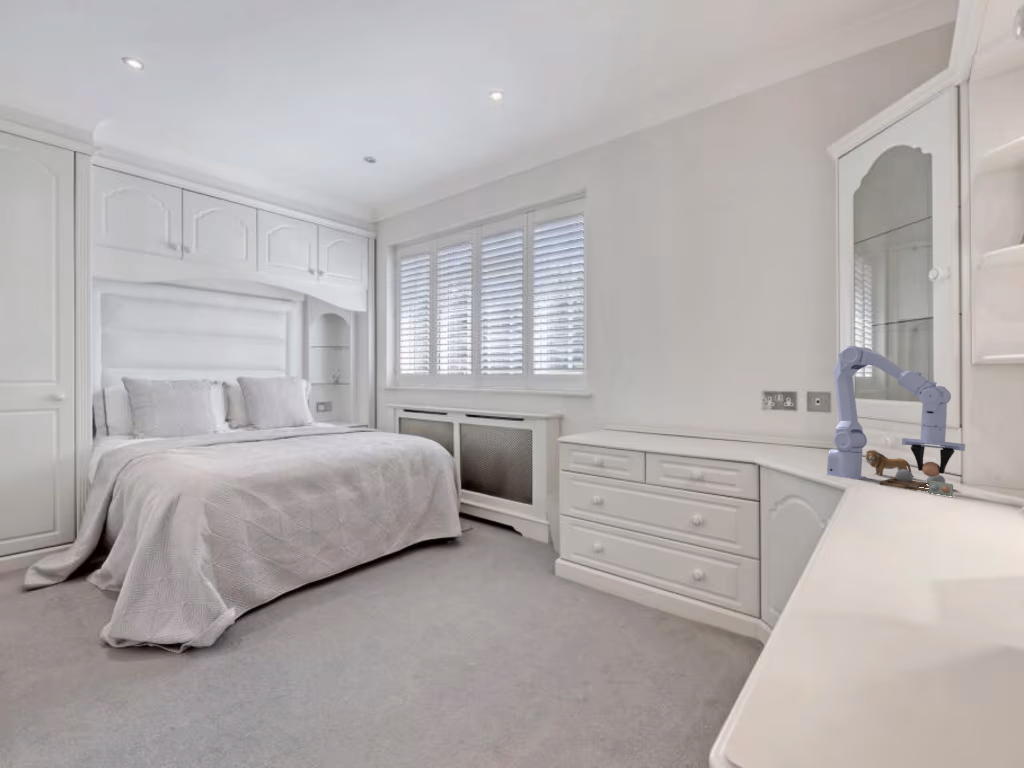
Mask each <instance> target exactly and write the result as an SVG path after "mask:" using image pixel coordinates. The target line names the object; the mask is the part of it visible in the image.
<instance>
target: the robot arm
mask: <svg viewBox="0 0 1024 768" xmlns="http://www.w3.org/2000/svg"><path fill="white" fill-rule="evenodd" d="M837 357H838V359H837V361H836V363H835V367H834V369H833V371H832V373H833V381H834V390H835V399H836V409H837V416H838V424H837V425H836V427H835V428H834V430H835V434H834V435H833V444H834V446H835V447H836V449H835V448H831V449H829V451H828V454H827V465H826V467H827V468H826V473H825V475H827V476H832V477H839V478H846V479H852V480H862V479H865V478H866V475H862V468H863V466H862V465H863V448H865V446H867V443H868V438H867V436H866V434H865V433H864V430H863V426H862V425H861V424H860V423H859V420H858V419H859V418H858V411H857V404H856V403H857V402H856V401H857V400H856V395H855V387H854V386H855V385H854V379H853V376H854V375H855V374H856V373H858V371H859V370H861V369H864V368H865V367H867V366H873V367H875V368H877V369H879V370H881V371H882V372H884V373H886V374H887V375H889V376H890V377H893V378H894V379H896V380H897V384H898V386H899V387H901V388H902V389H905V391H907V392H909V393H910V394H912V395H913V396H914V397H917V398H918V399H919V401H920V403H921V404H922V406H921V407H922V409H921V423H920V424H921V425H920V439H918V438H908V437H907V438H905V437H902V438H901V445H903V446H910V450H911V452H912V454H913V456H914V457H915V461H916V465H917V470H918V471H920V472H923V471H922V466H923V464H924V454H925V448H934V449H935V448H936V449H939V451H940V453H939V454H940V457H939V458H940V464H939V466H940V474H941V475H942V474H944V473H945V471H946V467H947V465H948V463H949V461H950V459H951V458H952V456H953V455H954V453H955V451H960V452H964V451H966V443H960V442H959V443H958V442H951V441H950V442H948V441H946V433H947V432H946V431H947V417H948V416H947V414H948V413H947V407H948V403H949V402H950V401H951V398H952V395H951V392H950V391H949V390H948V389H947V388H946V387H945V386H942V385H941V386H940V385H937V382H935V380H932V381H931V380H929V379H927V378H926V377H924V376H923V373H922V372H920V371H918V370H917V371H914V370H905V369H903V368H901V366H898V365H897V364H895V362H893V361H891V360H889V359H888V358H886V357H885V356H884V355H883V354H881V353H879V352H877V351H875V350H872V349H871V348H869V347H861V346H856V345H847V346H846V347H844V348H843V349H842V350H840V352H839V353H838V354H837Z"/></svg>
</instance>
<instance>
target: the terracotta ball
mask: <svg viewBox="0 0 1024 768" xmlns="http://www.w3.org/2000/svg"><path fill="white" fill-rule="evenodd" d="M921 472H922V473H923V474H924V475H926V476H927V477H928V476H930V477H934V476H937V475H941V473H940V464H938V463H936V462H934V461H927V462H924V463H923V466H922V471H921Z"/></svg>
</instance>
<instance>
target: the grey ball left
mask: <svg viewBox="0 0 1024 768" xmlns="http://www.w3.org/2000/svg"><path fill="white" fill-rule="evenodd" d="M895 475H896V476H895V478H896V479H897V480H898V481H901V482H907V483H909V482H911V481H912V480H913V479H914V478H913V476H914V475H913V473H912V471H911V472H910V471H909V469H908V470H904V469H902V470H899V471H898V470H897V472H896V473H895Z"/></svg>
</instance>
